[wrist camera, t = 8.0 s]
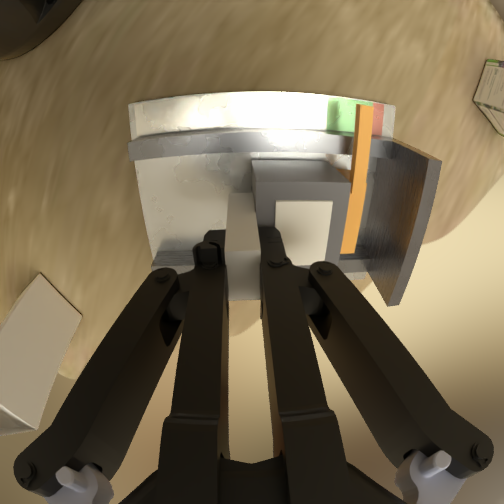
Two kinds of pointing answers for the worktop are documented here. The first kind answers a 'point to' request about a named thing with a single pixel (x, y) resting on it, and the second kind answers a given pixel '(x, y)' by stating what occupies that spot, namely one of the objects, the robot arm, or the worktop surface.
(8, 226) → the worktop surface
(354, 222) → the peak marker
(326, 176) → the grey block
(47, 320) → the milk carton
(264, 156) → the gauge bed
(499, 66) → the syrup box
